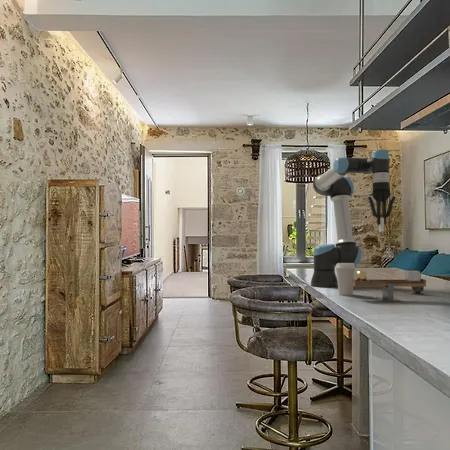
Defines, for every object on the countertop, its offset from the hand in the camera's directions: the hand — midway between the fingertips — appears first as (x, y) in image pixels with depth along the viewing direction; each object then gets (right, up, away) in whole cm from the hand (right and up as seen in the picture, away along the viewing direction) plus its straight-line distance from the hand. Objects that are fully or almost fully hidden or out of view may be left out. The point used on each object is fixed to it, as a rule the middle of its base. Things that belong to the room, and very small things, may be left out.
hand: (381, 231), depth 196 cm
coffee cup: (-17, -31, +2) cm, 35 cm away
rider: (+7, -22, -16) cm, 28 cm away
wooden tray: (-3, -24, -15) cm, 28 cm away
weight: (-14, -23, -14) cm, 30 cm away
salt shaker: (+19, -31, +3) cm, 36 cm away
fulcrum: (-3, -30, -15) cm, 34 cm away
